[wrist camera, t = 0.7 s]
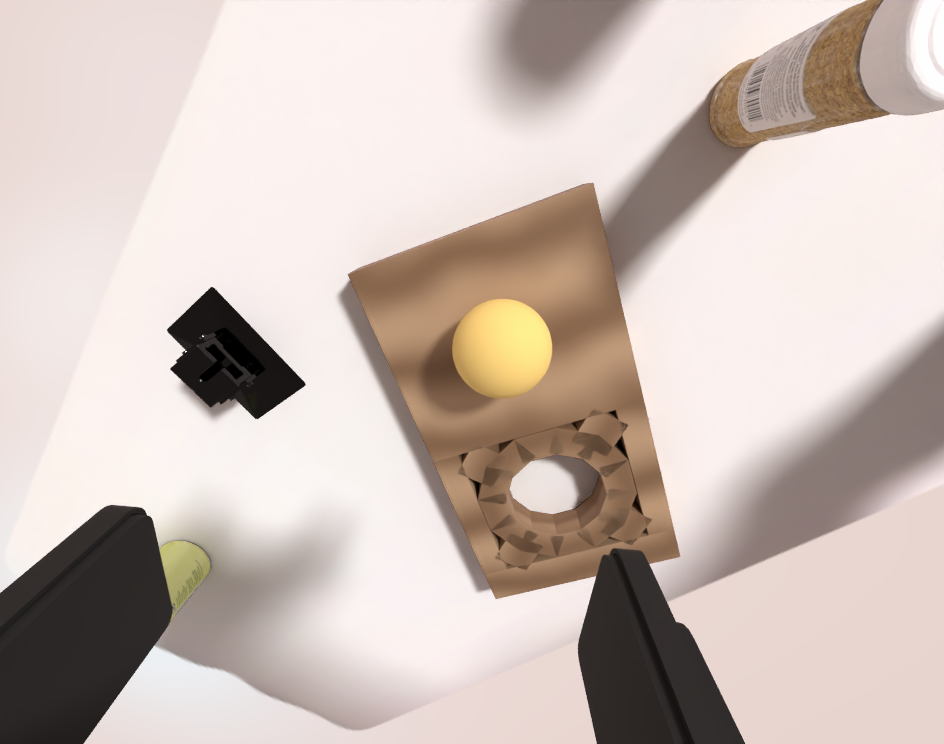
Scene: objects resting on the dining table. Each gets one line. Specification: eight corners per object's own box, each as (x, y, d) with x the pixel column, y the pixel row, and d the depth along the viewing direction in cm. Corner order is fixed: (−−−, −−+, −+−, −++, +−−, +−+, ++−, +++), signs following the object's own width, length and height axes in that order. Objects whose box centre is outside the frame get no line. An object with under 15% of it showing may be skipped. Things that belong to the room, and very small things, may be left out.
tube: (145, 539, 40) (-134, 820, 22) (192, 528, 40) (-56, 809, 21) (177, 583, 42) (-55, 873, 24) (223, 573, 42) (19, 864, 23)
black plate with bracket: (327, 390, 34) (305, 417, 30) (264, 436, 36) (235, 468, 32) (207, 260, 31) (163, 271, 27) (144, 319, 33) (93, 337, 28)
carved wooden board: (358, 268, 30) (347, 274, 28) (584, 183, 28) (593, 182, 25) (495, 575, 40) (495, 599, 38) (668, 534, 38) (680, 556, 36)
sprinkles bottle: (765, 154, 27) (1009, 118, 14) (694, 140, 27) (877, 91, 14) (799, 66, 25) (1111, -61, 12) (723, 51, 25) (961, -94, 12)
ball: (530, 276, 27) (541, 297, 22) (556, 360, 30) (571, 398, 24) (442, 307, 28) (431, 334, 23) (473, 386, 30) (470, 428, 25)
